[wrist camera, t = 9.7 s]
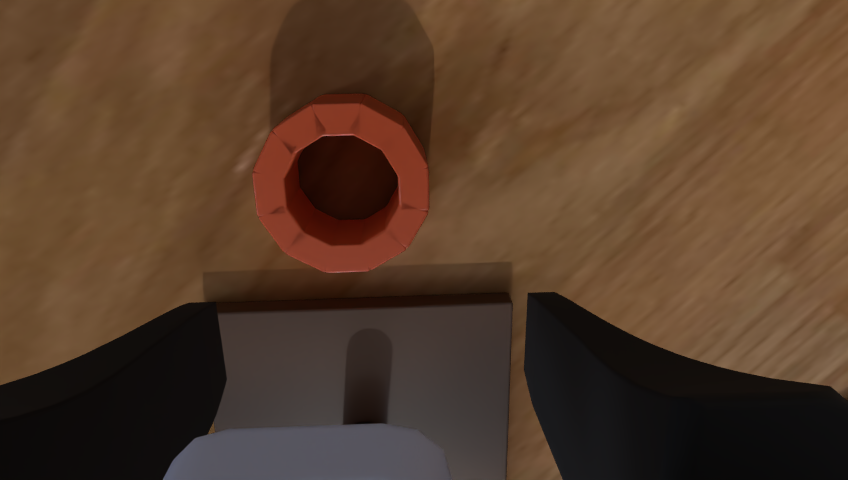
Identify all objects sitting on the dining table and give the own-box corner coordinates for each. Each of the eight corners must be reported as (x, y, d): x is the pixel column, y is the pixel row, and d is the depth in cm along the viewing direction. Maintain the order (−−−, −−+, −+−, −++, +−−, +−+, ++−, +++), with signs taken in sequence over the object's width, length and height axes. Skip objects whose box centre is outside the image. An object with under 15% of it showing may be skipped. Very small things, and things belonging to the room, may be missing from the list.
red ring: (312, 63, 20) (299, 69, 18) (453, 141, 21) (460, 157, 19) (246, 202, 22) (225, 226, 19) (381, 268, 23) (379, 299, 20)
